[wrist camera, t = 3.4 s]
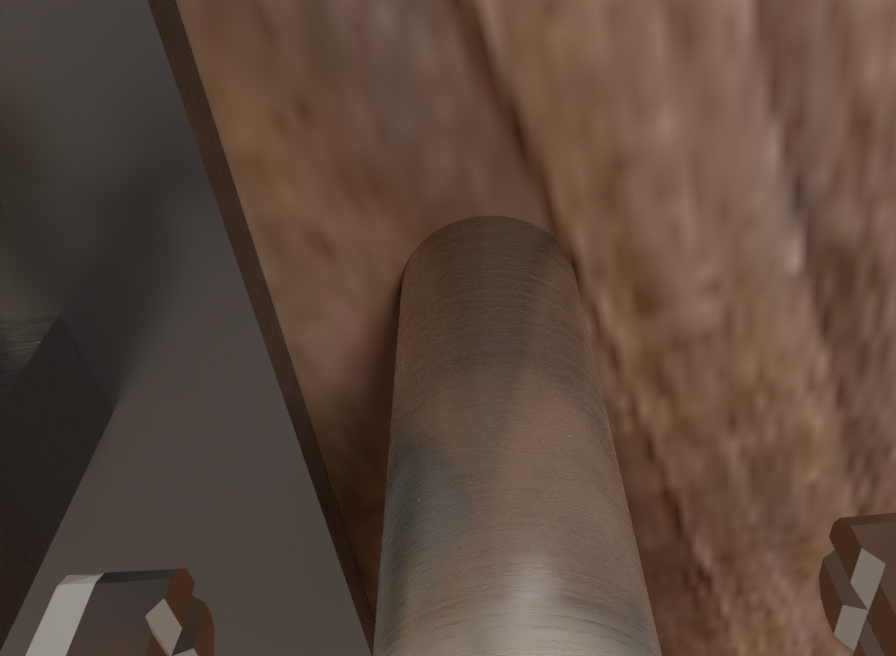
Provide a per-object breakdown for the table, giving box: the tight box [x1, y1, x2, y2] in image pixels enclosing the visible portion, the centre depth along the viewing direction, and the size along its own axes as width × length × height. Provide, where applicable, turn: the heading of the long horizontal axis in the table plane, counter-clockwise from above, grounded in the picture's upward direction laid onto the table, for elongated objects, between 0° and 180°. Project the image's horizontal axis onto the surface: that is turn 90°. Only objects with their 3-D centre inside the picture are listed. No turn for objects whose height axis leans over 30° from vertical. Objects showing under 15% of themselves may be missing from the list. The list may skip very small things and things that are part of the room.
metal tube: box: [373, 216, 662, 656], centre depth 10 cm, size 3×3×12 cm
